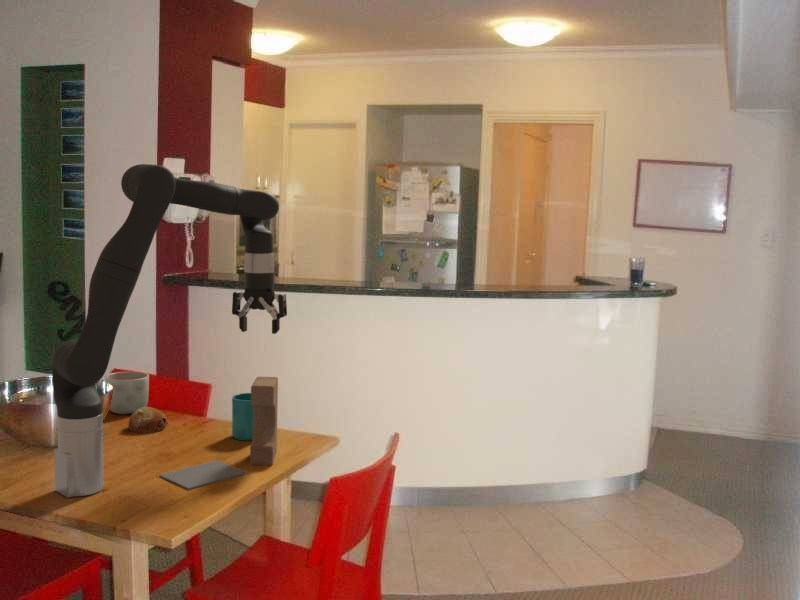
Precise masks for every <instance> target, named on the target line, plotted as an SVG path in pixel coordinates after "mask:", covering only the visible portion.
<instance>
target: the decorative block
mask: <svg viewBox="0 0 800 600" xmlns="http://www.w3.org/2000/svg"><path fill="white" fill-rule="evenodd" d="M278 385H279V378H278V377H277V376H257V377H256V378H255V380H254V381H253V383H252V385H251V387H250V393H251V405H253V412H254V422H253V436H252V440H251V444H250V449H249V450H250V451H249V455H250V458H249V461H250V462H249V463H250V465H251V466H269V467H270V466H272V465H273V463H274V462H275V458H276V455H277V452H278V406H279V405H278V403H279V402H278V400H279V398H278V397H279V396H278V395H279V394H278V393H279V392H278V391H279V386H278Z"/></svg>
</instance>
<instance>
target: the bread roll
mask: <svg viewBox="0 0 800 600" xmlns="http://www.w3.org/2000/svg"><path fill="white" fill-rule="evenodd" d="M167 420H168V417H167V416H166V413H163V412H162V411H161V410H158V409H157V408H156V407H155V408H154V407H152V406H151V407H150V406H146V407H142V408H140V409H138V410H136V411H135V412H134V413H133V414H130V417H129V419H128V428H129V431H131V432H133V433H136V434H137V433H138V434H147V433H156V432H160V431H163V430H164V429H165V428H166V426H167V425H168V422H167Z"/></svg>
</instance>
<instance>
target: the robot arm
mask: <svg viewBox="0 0 800 600" xmlns="http://www.w3.org/2000/svg"><path fill="white" fill-rule="evenodd" d="M120 185H121V189H122V193H123V194H124V196H125V197H126V198H127V199H129V200H130V201H131V202H132V206H131V208H130V211H129V214H128V215H127V218H126V219H125V220H124V222H123V224H122V225H121V226H120V228H119V229H118V230H117V231H116V233H115V234H114V235H113V236H112V237H111V238H110V239H109V241H107V243H106V245H104V247H103V249H102V250H101V252H100V254H99V256H98V258H97V261H96V265H94V266H95V267H94V269H93V271H92V274H91V277H90V282H89V285H88V287H89V288H88V303H87V306H88V307H87V313H86V318H85V322H84V324H83V327H82V330H81V332H80V334H79V337H78V339H70V340H67V341H65V342H63V343H61V344H60V345H59V346H58V348H57V349H56V351H55V352H54V354H53V358H52V369H51V370H52V373H51V374H52V388H53V391H52V392H53V399H54V403H55V405H56V406H55V407H56V411H57V413H56V415H57V447H56V448H54V450H53V452H54V453H53V455H54V459H53V460H54V490H55V492H57V493H59V494H61V495H63V496H64V497H66V498H70V497H71V498H72V497H82V496H83V497H85V496H91V495H93V494H96V493H98V492H100V491H102V490H103V489H104V480H105V479H104V438H103V437H104V430H103V429H104V426H103V423H104V422H103V421H104V420H103V419H104V416H103V412H104V411H103V400H102V398H101V397H100V395H99V392H98V389H97V385H96V384H97V383H98V382H99V381H100V380H101V379H102V378H103V377H104V375H105V374H106V372H107V370H108V366H109V363H110V359H111V357H112V356H111V355H112V352H113V348H114V345H115V341H116V337H117V333H118V331H119V327H120V324H121V322H122V320H123V317H124V315H125V313H126V311H127V310H126V309H127V307H128V305H129V301H130V298H131V296H132V295H133V292H134V289H135V287H136V285H137V281H138V279H139V278H140V277H139V276H140V274H141V271H142V269H143V265H144V262H145V259H146V257H147V255H148V253H149V251H150V248H151V245H152V242H153V240H154V237H155V234H156V232H157V230H158V228H159V226H160V224H161V222H162V220H163V218H164V216H165V213H166V212H167V210H168V209H169V206H170V204H171V205H177V206H178V205H179V206H185V207H188V208H189V207H190V208H194V209H198V210H203V211H207V212H211V213H215V214H216V213H217V214H223V215H229V216H239V218H240V221H241V225H242V229H243V233H244V238H245V239H244V250H245V251H244V252H245V254H244V263H243V264H244V266H243V267H244V271H243V272H244V273H243V275H244V280H243V281H244V283H243V285H244V291H242V292H241V291H240V290H237V291H234V292H233V293H232V304H231V305H232V307H231V310H232V311H231V314H232V315H234V316H237V317H238V318H239V319H238V325H239V326H238V327H239V330H240V331H241V332H242V333H244V332H245V333H246V332H247V331H248V317H247V315H248V313H249V312H250V311H251V310H260V311H264V310H265V311H266V312H267V313H268V314H269V315H270V316H271V317H272V320H271V334H272V335H277V334H278V333H279V331H280V329H281V328H280V327H281V326H280V325H281V324H280V323H281V322H280V320H281V318H284V317H286V316H287V315H288V309H287V308H288V306H287V305H288V304H287V295H286V293H280V294H279V293H278V294H277V293H276V292H275V289H274V288H275V259H274V238H273V237H274V236H273V233H272V231H271V230H269V229H267V228H266V227H265V223H264V221H269V220H271V219H273V218H274V217H276V215H277V214H278V212H279V210H280V204H279V200H278V199H277V197H276V196H275V195H273V194H272V193H270V192H267V191H263V190H262V191H261V190H253V189H244V188H239V187H236V186H233V185H227V184H222V183H217V182H211V181H201V180H193V179H186V178H180V177H175V175H174V173H173V171H171V170H170V169H169V168H168V167H166V166H163V165H160V164H151V163H150V164H146V163H145V164H144V163H143V164H142V163H141V164H136V165H132V166H131V167H129V168H127V170H125V172H124V173H123V174H122V176H121V182H120ZM243 299H244V300H245V302H246V303H245V304H244V305H243V307H242V308H241V303H242V300H243ZM275 300H276V302H277V303H278V308H277V307H276V306H275V304H274V303H273V302H274V301H275ZM277 309H278V310H277Z"/></svg>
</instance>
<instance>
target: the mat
mask: <svg viewBox="0 0 800 600" xmlns="http://www.w3.org/2000/svg"><path fill="white" fill-rule="evenodd" d="M246 474H247V471H245V470H242V469H241V468H238V467H235V466H233V465H230V464H228V463H225V462H222V461H220V460H217V459H215V460H212V461H207V462H204V463H200V464H195V465H193V466H188V467H184V468H181V469H177V470H172V471H170V472H165V473H161V474H159V477H160V478H161V479H164V480H167V481H168V482H171V483H173V484H175V485H177V486H180V487H182V488H183V489H185V490H189V491H190V490H192V489H197V488H200V487H204V486H207V485H211V484H215V483H217V482H221V481H225V480H228V479H232V478H236V477H239V476H243V475H246Z"/></svg>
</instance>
